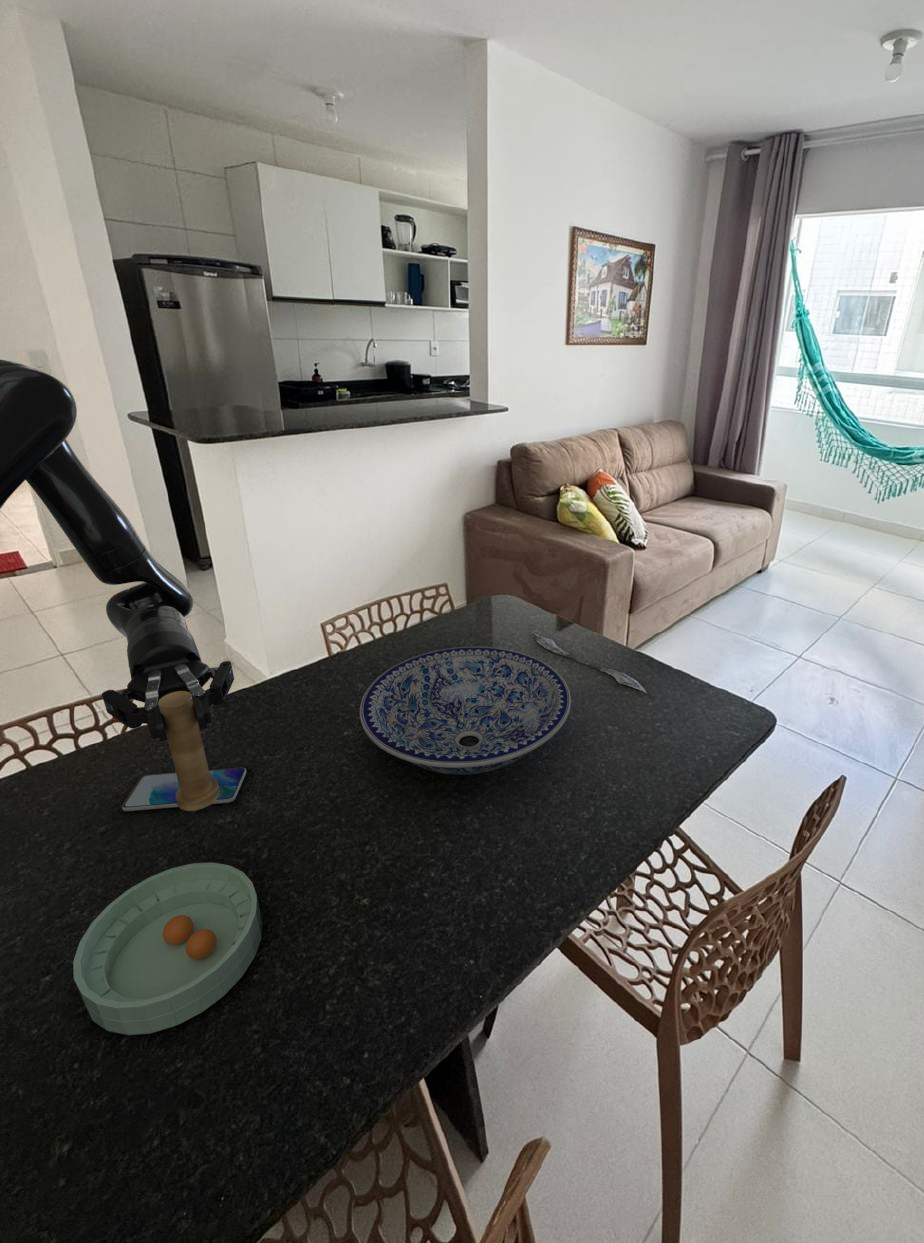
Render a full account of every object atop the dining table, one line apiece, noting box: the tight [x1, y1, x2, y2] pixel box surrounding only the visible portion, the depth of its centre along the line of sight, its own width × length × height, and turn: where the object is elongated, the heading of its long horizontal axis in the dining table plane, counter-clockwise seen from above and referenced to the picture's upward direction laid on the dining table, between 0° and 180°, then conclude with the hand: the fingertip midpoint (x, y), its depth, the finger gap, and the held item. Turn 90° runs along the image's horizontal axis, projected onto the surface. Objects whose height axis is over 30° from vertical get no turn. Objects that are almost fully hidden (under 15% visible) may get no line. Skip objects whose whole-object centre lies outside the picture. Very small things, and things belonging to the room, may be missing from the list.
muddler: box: [158, 691, 220, 812], centre depth 72 cm, size 4×4×14 cm
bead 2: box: [186, 929, 217, 960], centre depth 71 cm, size 3×3×3 cm
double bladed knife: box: [533, 632, 647, 694], centre depth 133 cm, size 32×1×5 cm
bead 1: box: [163, 915, 193, 945], centre depth 72 cm, size 3×3×3 cm
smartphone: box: [121, 767, 247, 812], centre depth 94 cm, size 7×1×15 cm
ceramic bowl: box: [359, 646, 572, 776], centre depth 106 cm, size 34×34×10 cm
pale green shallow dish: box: [72, 862, 263, 1036], centre depth 70 cm, size 17×17×5 cm
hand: (182, 727), depth 68 cm, fingers closed on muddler, 3 cm apart
